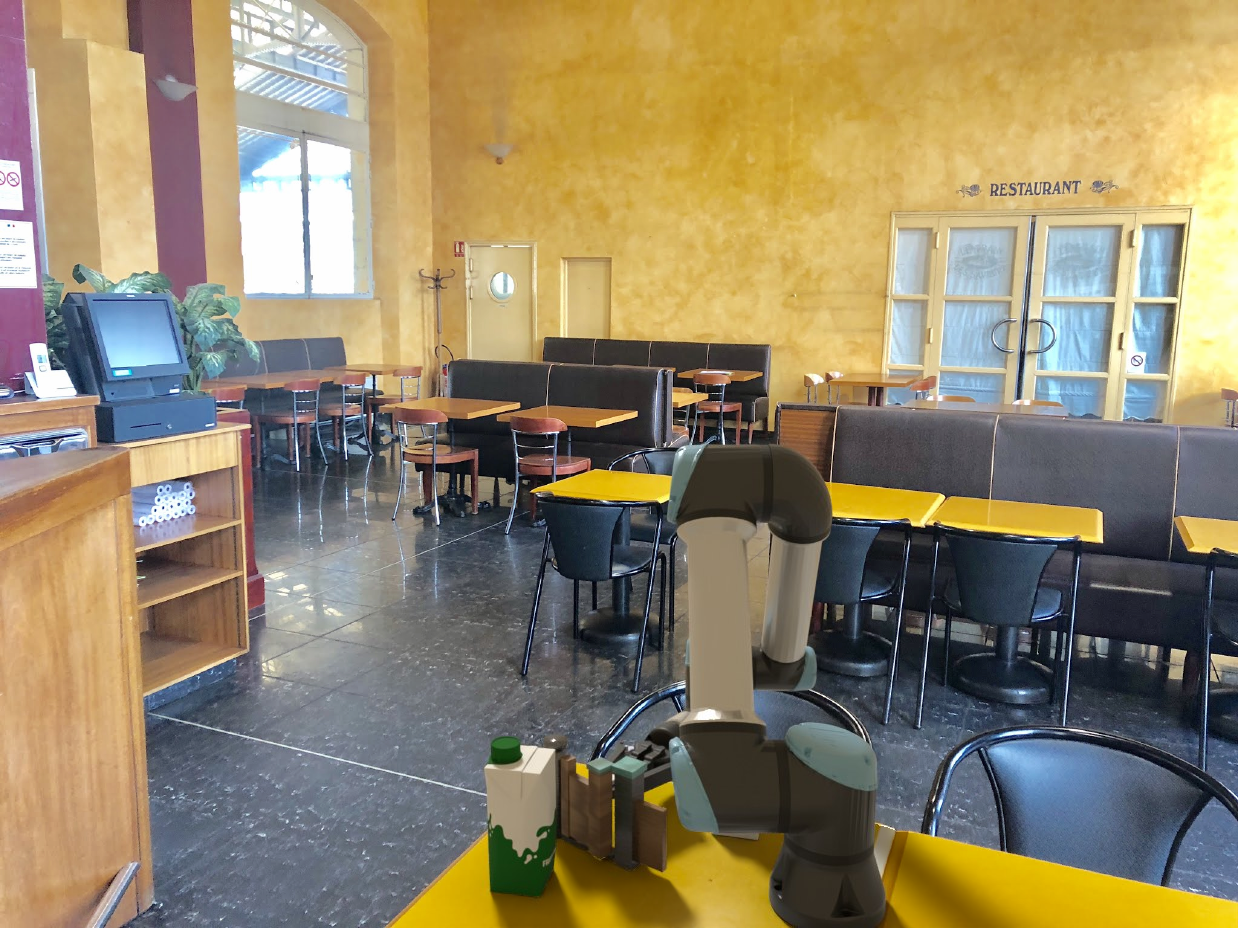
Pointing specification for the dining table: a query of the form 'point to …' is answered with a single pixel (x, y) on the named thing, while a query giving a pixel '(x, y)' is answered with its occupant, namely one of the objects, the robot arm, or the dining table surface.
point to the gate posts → (623, 814)
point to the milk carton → (520, 816)
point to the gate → (587, 804)
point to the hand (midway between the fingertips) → (588, 800)
